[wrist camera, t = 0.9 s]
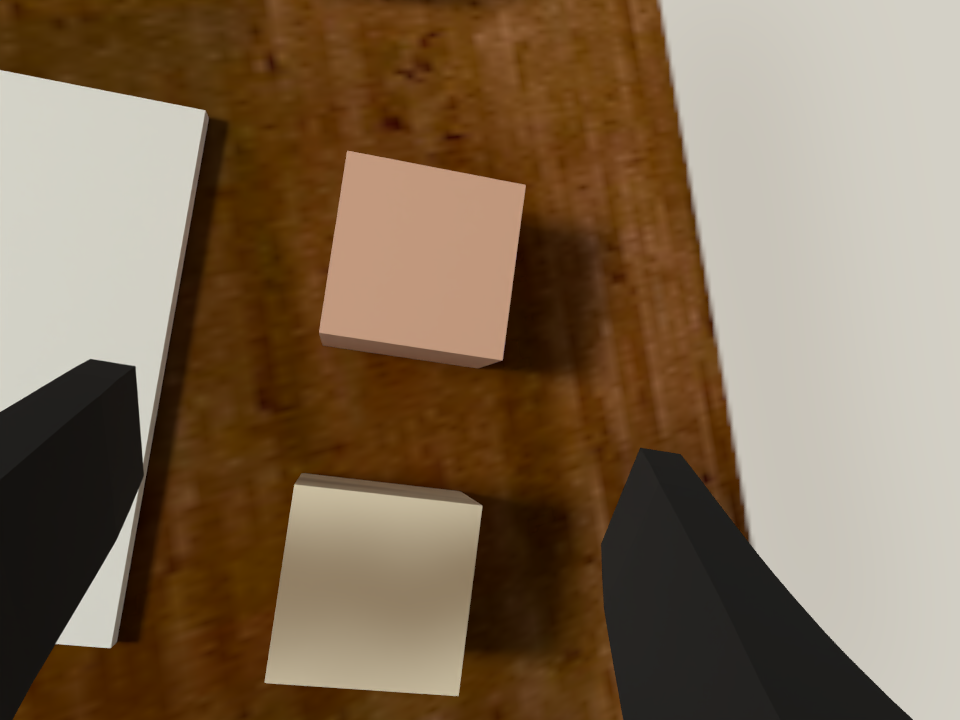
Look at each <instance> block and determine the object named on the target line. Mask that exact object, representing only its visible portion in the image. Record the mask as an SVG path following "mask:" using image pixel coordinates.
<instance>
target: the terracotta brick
mask: <svg viewBox="0 0 960 720" xmlns="http://www.w3.org/2000/svg"><path fill="white" fill-rule="evenodd" d="M525 187H526V185H523V184H517V183H512V182H507V181H502V180H497V179H491V178H486V177H481V176H476V175H471V174H466V173H460V172H455V171H450V170H445V169H440V168H434V167H429V166H424V165H419V164H414V163H408V162H403V161H398V160H393V159H388V158H383V157H377V156H372V155H367V154H362V153H357V152H351V151H347V156H346V162H345V168H344V175H343V181H342V188H341V194H340V201H339V207H338V214H337V220H336V226H335V233H334V239H333V246H332V252H331V259H330V265H329V272H328V278H327V285H326V291H325V297H324V304H323V310H322V317H321V323H320V330H319V334H320V338H321V341H322V345H323V346H330V347H337V348H344V349H350V350H357V351H364V352H370V353H377V354H384V355H391V356H397V357H404V358H411V359H418V360H424V361H431V362H438V363H445V364H451V365H458V366H465V367H472V368H481V367H484V366H487V365H490V364H493V363H496V362H499V361H502V360H503V354H504V346H505V339H506V331H507V323H508V316H509V308H510V301H511V293H512V285H513V278H514V270H515V263H516V255H517V247H518V240H519V232H520V225H521V217H522V209H523V202H524V194H525Z"/></svg>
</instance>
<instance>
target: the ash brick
mask: <svg viewBox="0 0 960 720" xmlns="http://www.w3.org/2000/svg"><path fill="white" fill-rule="evenodd" d="M481 514H482V505H481V504H479V503H478V502H476V501H475V500H473V499H472V498H470V497H469V496H467V495H465V494H464V493H462V492H461V491H454V490H445V489H436V488H428V487H419V486H410V485H402V484H393V483H384V482H376V481H367V480H358V479H350V478H341V477H332V476H324V475H315V474H306V473H302V474H301V475H300V477H299V478H298V480H297V481H296V483H295V484H294V490H293V497H292V504H291V510H290V517H289V524H288V530H287V537H286V544H285V550H284V557H283V564H282V570H281V577H280V584H279V590H278V597H277V604H276V610H275V617H274V623H273V630H272V637H271V643H270V650H269V657H268V663H267V670H266V677H265V683H273V684H288V685H303V686H317V687H332V688H347V689H361V690H376V691H391V692H406V693H420V694H435V695H450V696H459V688H460V680H461V672H462V664H463V656H464V648H465V641H466V633H467V625H468V617H469V609H470V601H471V593H472V585H473V577H474V569H475V562H476V554H477V546H478V538H479V530H480V522H481Z"/></svg>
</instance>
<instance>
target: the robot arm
mask: <svg viewBox="0 0 960 720" xmlns="http://www.w3.org/2000/svg"><path fill="white" fill-rule="evenodd" d="M143 477H144V469H143V456H142V443H141V430H140V417H139V404H138V391H137V378H136V366H132V365H125V364H119V363H113V362H107V361H101V360H95V359H89V360H87V361H85V362H84V363H82V364H80V365H78V366H76V367H75V368H73V369H71V370H69V371H68V372H66V373H64V374H63V375H61V376H59V377H58V378H56V379H54V380H53V381H51V382H49V383H48V384H46V385H44V386H43V387H41V388H39V389H38V390H36V391H34V392H33V393H31V394H29V395H28V396H26V397H24V398H23V399H21V400H19V401H18V402H16V403H14V404H13V405H11V406H9V407H8V408H6V409H4V410H2V411H1V412H0V720H13V718H14V716H15V714H16V712H17V710H18V708H19V706H20V705H21V703H22V701H23V699H24V697H25V695H26V693H27V692H28V690H29V688H30V686H31V684H32V683H33V681H34V679H35V677H36V676H37V674H38V672H39V671H40V669H41V667H42V666H43V664H44V662H45V661H46V659H47V657H48V656H49V654H50V652H51V651H52V649H53V647H54V646H55V644H56V642H57V640H58V639H59V637H60V635H61V634H62V632H63V630H64V629H65V627H66V625H67V624H68V622H69V620H70V619H71V617H72V615H73V614H74V612H75V610H76V609H77V607H78V605H79V604H80V602H81V600H82V598H83V597H84V595H85V593H86V592H87V590H88V588H89V587H90V585H91V583H92V582H93V580H94V578H95V576H96V575H97V573H98V571H99V570H100V568H101V566H102V564H103V563H104V561H105V559H106V558H107V556H108V554H109V552H110V551H111V549H112V547H113V545H114V544H115V542H116V540H117V538H118V536H119V534H120V531H121V529H122V527H123V525H124V522H125V520H126V518H127V516H128V513H129V511H130V509H131V506H132V504H133V501H134V499H135V496H136V494H137V492H138V489H139V487H140V484H141V482H142V479H143ZM601 550H602V580H603V597H604V610H605V617H606V623H607V629H608V635H609V641H610V647H611V653H612V659H613V664H614V670H615V676H616V681H617V687H618V692H619V698H620V704H621V709H622V715H623V720H913V719H912V718H911V717H910V716H908V715H907V714H906V713H905V712H904V711H903V710H902V709H901V708H900V707H899V706H898V705H897V704H895V703H894V702H893V701H892V700H891V699H890V698H889V697H888V696H887V695H886V694H885V693H884V692H883V691H882V690H881V689H880V688H879V687H878V686H877V685H876V684H875V683H874V682H873V681H872V680H871V679H870V678H869V677H868V676H867V675H866V674H865V673H864V672H863V671H862V670H861V669H860V668H859V667H858V666H857V665H856V664H855V663H854V662H853V661H852V660H851V659H850V658H849V657H848V656H847V655H846V654H845V653H844V652H843V651H842V650H841V649H840V648H839V647H838V646H837V645H836V644H835V643H834V641H832V639H831V638H830V637H829V636H828V635H827V634H826V633H825V632H824V631H823V630H822V628H821V627H820V626H819V625H818V624H817V623H816V622H815V621H814V620H813V618H812V617H811V616H810V615H809V614H808V613H807V612H806V611H805V609H804V608H803V607H802V606H801V605H800V604H799V603H798V602H797V600H796V599H795V598H794V597H793V596H792V595H791V594H790V592H789V591H788V590H787V589H786V588H785V586H784V585H783V584H782V583H781V582H780V581H779V579H778V578H777V577H776V576H775V575H774V573H773V572H772V571H771V570H770V568H769V567H768V566H767V565H766V564H765V562H764V561H763V560H762V559H761V557H759V555H758V554H757V552H756V551H755V550H754V549H753V547H752V546H751V545H750V544H749V542H748V541H747V540H746V539H745V537H744V536H743V535H742V533H741V532H740V531H739V530H738V528H737V527H736V526H735V524H734V523H733V522H732V520H731V519H730V518H729V517H728V515H727V514H726V513H725V511H724V510H723V509H722V507H721V506H720V505H719V503H718V502H717V501H716V500H715V498H714V497H713V496H712V494H711V493H710V492H709V490H708V489H707V488H706V486H705V485H704V484H703V482H702V481H701V480H700V478H699V477H698V476H697V475H696V473H695V472H694V471H693V469H692V468H691V467H690V466H689V464H688V463H687V462H686V461H685V459H684V458H683V457H682V456H681V454H675V453H669V452H663V451H657V450H651V449H645V448H640V450H639V452H638V455H637V457H636V460H635V462H634V464H633V467H632V469H631V472H630V474H629V477H628V479H627V482H626V484H625V487H624V489H623V492H622V494H621V497H620V499H619V501H618V504H617V506H616V509H615V511H614V514H613V516H612V519H611V521H610V524H609V526H608V529H607V531H606V533H605V536H604V538H603V541H602V543H601Z"/></svg>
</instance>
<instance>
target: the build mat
mask: <svg viewBox="0 0 960 720" xmlns="http://www.w3.org/2000/svg"><path fill="white" fill-rule="evenodd" d="M208 121H209V117H208V115H207V113H206V111H205V110H200V109H195V108H190V107H185V106H180V105H175V104H170V103H165V102H159V101H154V100H149V99H144V98H139V97H134V96H129V95H124V94H119V93H114V92H108V91H103V90H98V89H93V88H88V87H83V86H78V85H73V84H68V83H63V82H58V81H52V80H47V79H42V78H37V77H32V76H27V75H22V74H17V73H12V72H7V71H1V70H0V412H1V411H2V410H4V409H6V408H8V407H9V406H11V405H13V404H14V403H16V402H18V401H19V400H21V399H23V398H24V397H26V396H28V395H29V394H31V393H33V392H34V391H36V390H38V389H39V388H41V387H43V386H44V385H46V384H48V383H49V382H51V381H53V380H54V379H56V378H58V377H59V376H61V375H63V374H64V373H66V372H68V371H69V370H71V369H73V368H75V367H76V366H78V365H80V364H82V363H84V362H85V361H87V360H89V359H95V360H101V361H107V362H113V363H119V364H125V365H132V366H136V378H137V391H138V404H139V417H140V430H141V443H142V456H143V469H144V477H143V479H142V482H141V484H140V487H139V489H138V492H137V494H136V496H135V499H134V501H133V504H132V506H131V509H130V511H129V513H128V516H127V518H126V520H125V522H124V525H123V527H122V529H121V531H120V534H119V536H118V538H117V540H116V542H115V544H114V545H113V547H112V549H111V551H110V552H109V554H108V556H107V558H106V559H105V561H104V563H103V564H102V566H101V568H100V570H99V571H98V573H97V575H96V576H95V578H94V580H93V582H92V583H91V585H90V587H89V588H88V590H87V592H86V593H85V595H84V597H83V598H82V600H81V602H80V604H79V605H78V607H77V609H76V610H75V612H74V614H73V615H72V617H71V619H70V620H69V622H68V624H67V625H66V627H65V629H64V630H63V632H62V634H61V635H60V637H59V639H58V640H57V642H56V644H64V645H77V646H89V647H101V648H111V647H112V646H113V645H114V644H115V643H116V642H117V639H118V633H119V627H120V622H121V616H122V610H123V605H124V599H125V593H126V588H127V582H128V576H129V570H130V565H131V559H132V553H133V548H134V542H135V536H136V531H137V525H138V519H139V514H140V508H141V502H142V496H143V491H144V485H145V479H146V474H147V468H148V462H149V457H150V451H151V445H152V439H153V434H154V428H155V422H156V417H157V411H158V405H159V400H160V394H161V388H162V383H163V377H164V371H165V365H166V360H167V354H168V348H169V343H170V337H171V331H172V326H173V320H174V314H175V308H176V303H177V297H178V291H179V286H180V280H181V274H182V269H183V263H184V257H185V252H186V246H187V240H188V234H189V229H190V223H191V217H192V212H193V206H194V200H195V195H196V189H197V183H198V178H199V172H200V166H201V160H202V155H203V149H204V143H205V138H206V132H207V126H208Z"/></svg>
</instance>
